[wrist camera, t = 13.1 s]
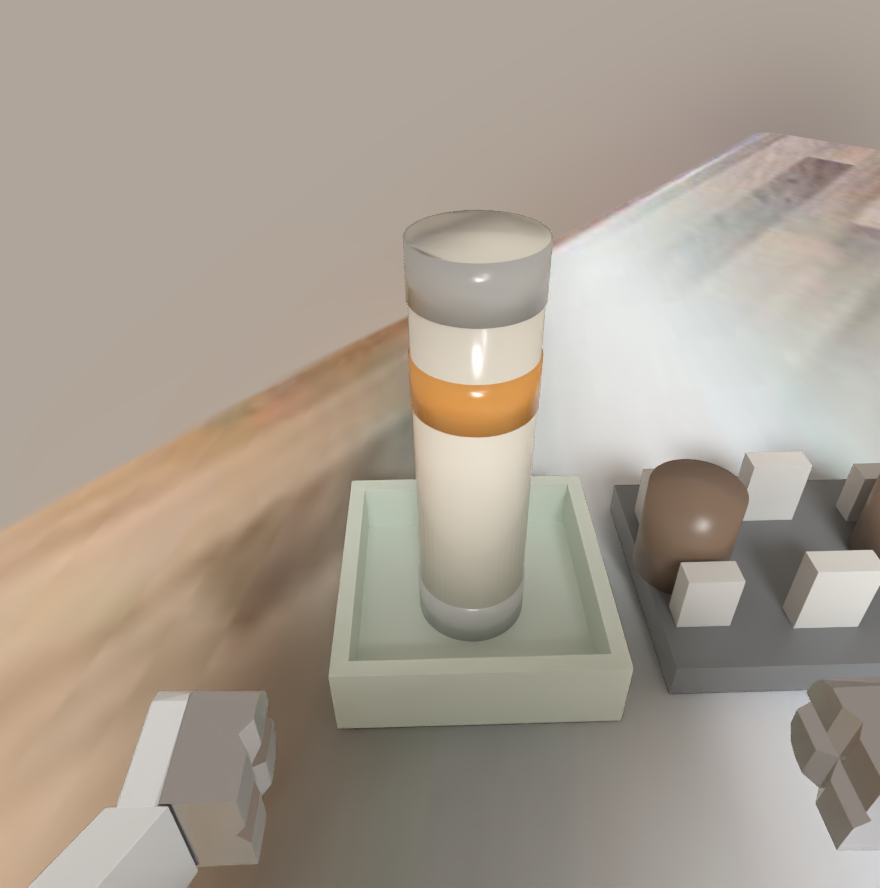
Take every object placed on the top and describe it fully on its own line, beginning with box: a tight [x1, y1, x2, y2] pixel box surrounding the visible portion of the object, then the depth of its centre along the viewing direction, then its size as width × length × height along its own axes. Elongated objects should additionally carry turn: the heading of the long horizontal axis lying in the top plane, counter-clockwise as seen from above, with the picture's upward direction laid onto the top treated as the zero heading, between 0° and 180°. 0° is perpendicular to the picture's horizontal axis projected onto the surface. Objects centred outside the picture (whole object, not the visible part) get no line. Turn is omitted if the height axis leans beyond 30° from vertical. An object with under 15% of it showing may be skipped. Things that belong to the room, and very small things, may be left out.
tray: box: [328, 475, 634, 729], centre depth 28 cm, size 10×10×3 cm
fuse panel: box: [610, 451, 880, 694], centre depth 28 cm, size 12×10×4 cm
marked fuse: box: [403, 210, 553, 642], centre depth 24 cm, size 4×4×15 cm
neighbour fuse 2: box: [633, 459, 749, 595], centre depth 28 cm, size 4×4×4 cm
